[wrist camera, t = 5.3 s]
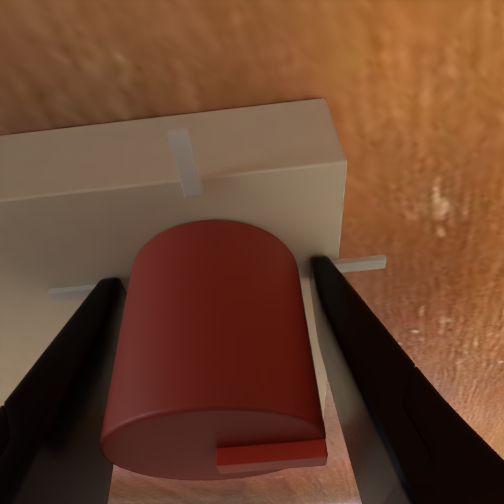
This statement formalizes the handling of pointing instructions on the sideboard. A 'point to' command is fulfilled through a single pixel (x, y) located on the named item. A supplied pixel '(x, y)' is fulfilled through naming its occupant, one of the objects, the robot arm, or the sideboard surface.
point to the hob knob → (213, 359)
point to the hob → (158, 206)
